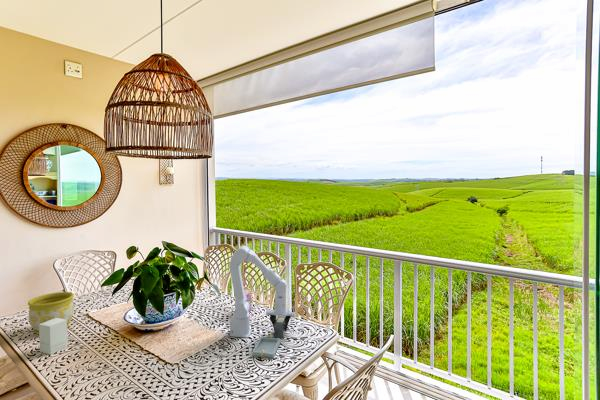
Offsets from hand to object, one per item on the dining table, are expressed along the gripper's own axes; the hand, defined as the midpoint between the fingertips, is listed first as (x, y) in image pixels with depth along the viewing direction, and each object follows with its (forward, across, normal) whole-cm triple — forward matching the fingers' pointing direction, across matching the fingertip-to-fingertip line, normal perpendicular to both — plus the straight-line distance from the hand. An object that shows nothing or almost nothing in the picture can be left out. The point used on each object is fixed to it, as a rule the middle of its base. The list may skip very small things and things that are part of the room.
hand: (280, 330), depth 147 cm
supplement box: (+2, -98, -31) cm, 103 cm away
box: (+2, -27, +21) cm, 34 cm away
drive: (+2, 0, 0) cm, 2 cm away
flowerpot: (+2, -117, -15) cm, 118 cm away
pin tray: (+2, -3, -15) cm, 15 cm away
